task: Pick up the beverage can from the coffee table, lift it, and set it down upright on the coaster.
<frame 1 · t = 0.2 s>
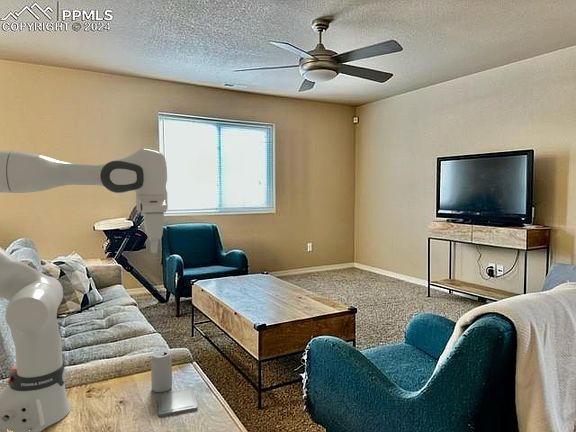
hand: (152, 249, 119), 47 cm above the table, tool pointing down, fingers open, 8 cm apart
coaster: (177, 402, 120), on the table
beverage can: (161, 388, 128), on the table
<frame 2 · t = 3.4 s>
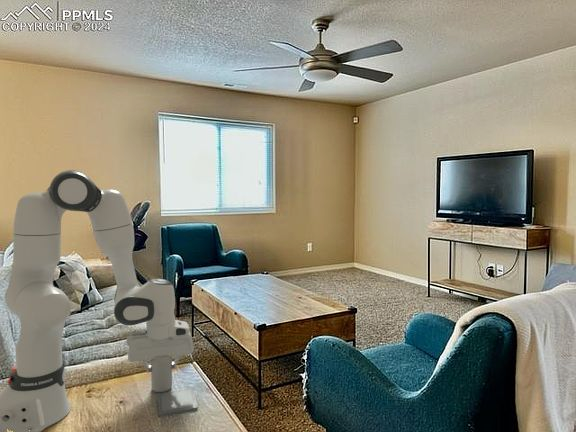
hand: (161, 369, 128), 6 cm above the table, tool pointing down, fingers closed on beverage can, 6 cm apart
beverage can: (161, 388, 128), on the table, touching gripper
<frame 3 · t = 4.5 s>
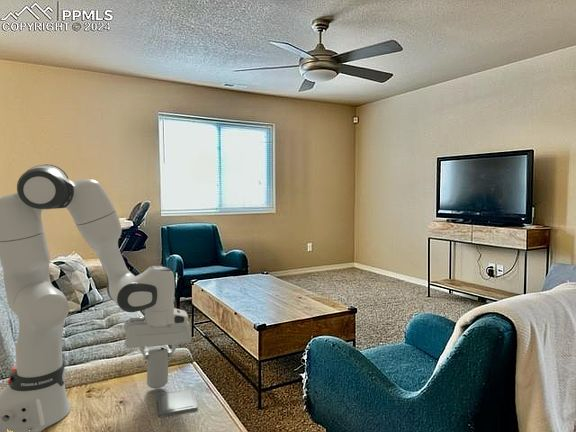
hand: (158, 357, 127), 11 cm above the table, tool pointing down, fingers closed on beverage can, 6 cm apart
beverage can: (157, 385, 127), point 2 cm above the table, touching gripper
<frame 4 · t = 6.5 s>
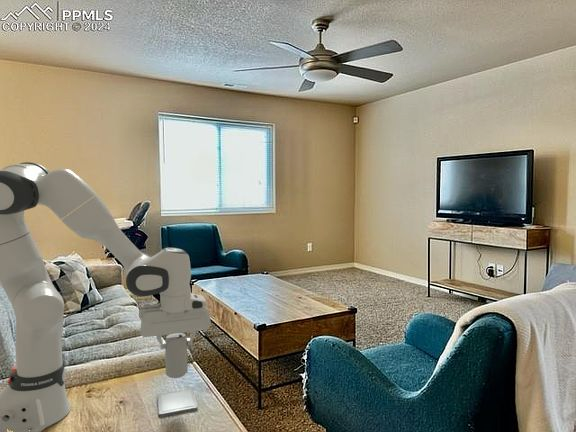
hand: (176, 346, 118), 18 cm above the table, tool pointing down, fingers closed on beverage can, 6 cm apart
beverage can: (176, 374, 119), point 9 cm above the table, touching gripper
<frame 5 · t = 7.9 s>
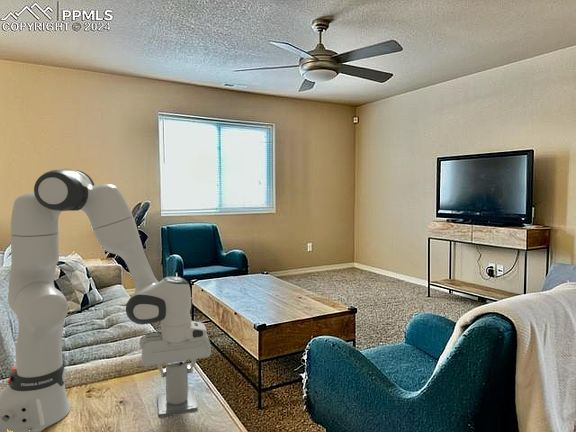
hand: (177, 374, 119), 9 cm above the table, tool pointing down, fingers closed on beverage can, 6 cm apart
beverage can: (176, 400, 120), point 1 cm above the table, touching coaster, gripper
when the fingers open (9 cm above the table, at t = 8.6 s): beverage can stays where it is, resting on coaster.
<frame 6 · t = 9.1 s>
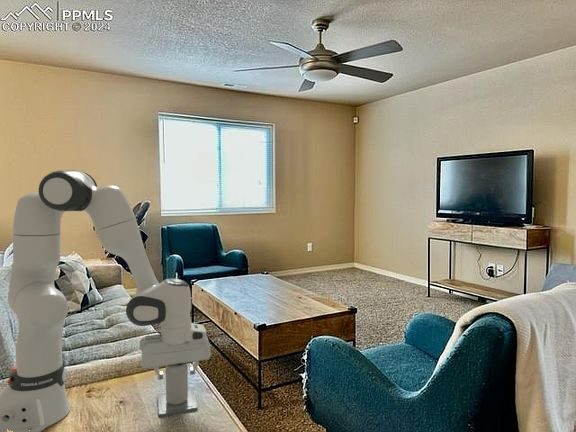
hand: (176, 376, 119), 9 cm above the table, tool pointing down, fingers open, 8 cm apart
beverage can: (177, 400, 120), point 1 cm above the table, touching coaster
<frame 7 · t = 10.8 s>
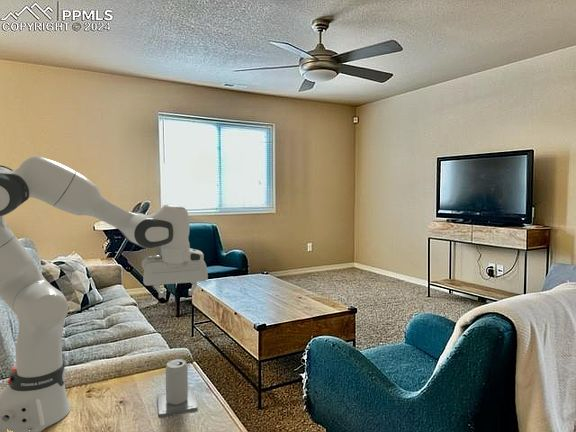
hand: (176, 296, 129), 30 cm above the table, tool pointing down, fingers open, 8 cm apart
nothing on the table moved.
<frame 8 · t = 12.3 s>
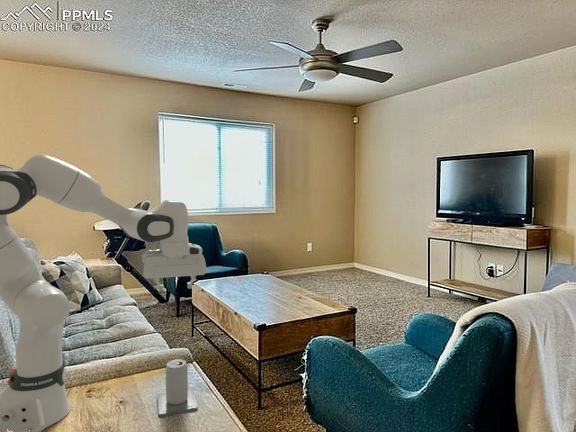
hand: (175, 289, 132), 31 cm above the table, tool pointing down, fingers open, 8 cm apart
nothing on the table moved.
at the end: beverage can 0.1 cm from the coaster (horizontally); beverage can tilted 0°; the gripper is holding nothing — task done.
